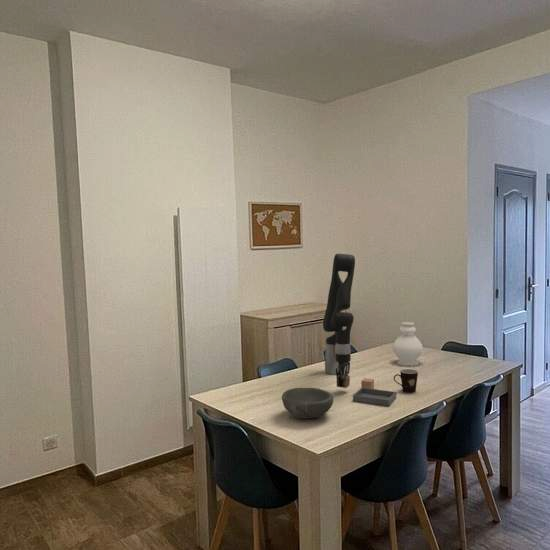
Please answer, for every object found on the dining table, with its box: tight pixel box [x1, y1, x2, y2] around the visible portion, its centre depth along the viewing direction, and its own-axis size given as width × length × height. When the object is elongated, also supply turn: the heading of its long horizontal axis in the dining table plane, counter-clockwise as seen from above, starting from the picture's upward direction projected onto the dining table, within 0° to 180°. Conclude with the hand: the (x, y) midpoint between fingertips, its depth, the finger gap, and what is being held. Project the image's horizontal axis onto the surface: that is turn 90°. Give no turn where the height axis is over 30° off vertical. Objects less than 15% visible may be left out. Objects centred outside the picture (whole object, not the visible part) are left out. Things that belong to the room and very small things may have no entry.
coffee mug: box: [393, 368, 419, 394], centre depth 244 cm, size 12×9×10 cm
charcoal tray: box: [352, 388, 397, 407], centre depth 232 cm, size 17×13×3 cm
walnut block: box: [336, 374, 351, 389], centre depth 244 cm, size 5×5×5 cm
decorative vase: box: [392, 321, 424, 367], centre depth 297 cm, size 18×18×25 cm
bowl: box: [281, 387, 334, 419], centre depth 213 cm, size 23×22×10 cm
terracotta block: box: [360, 377, 375, 389], centre depth 248 cm, size 5×5×5 cm
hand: (343, 384), depth 244 cm, fingers closed on walnut block, 5 cm apart
